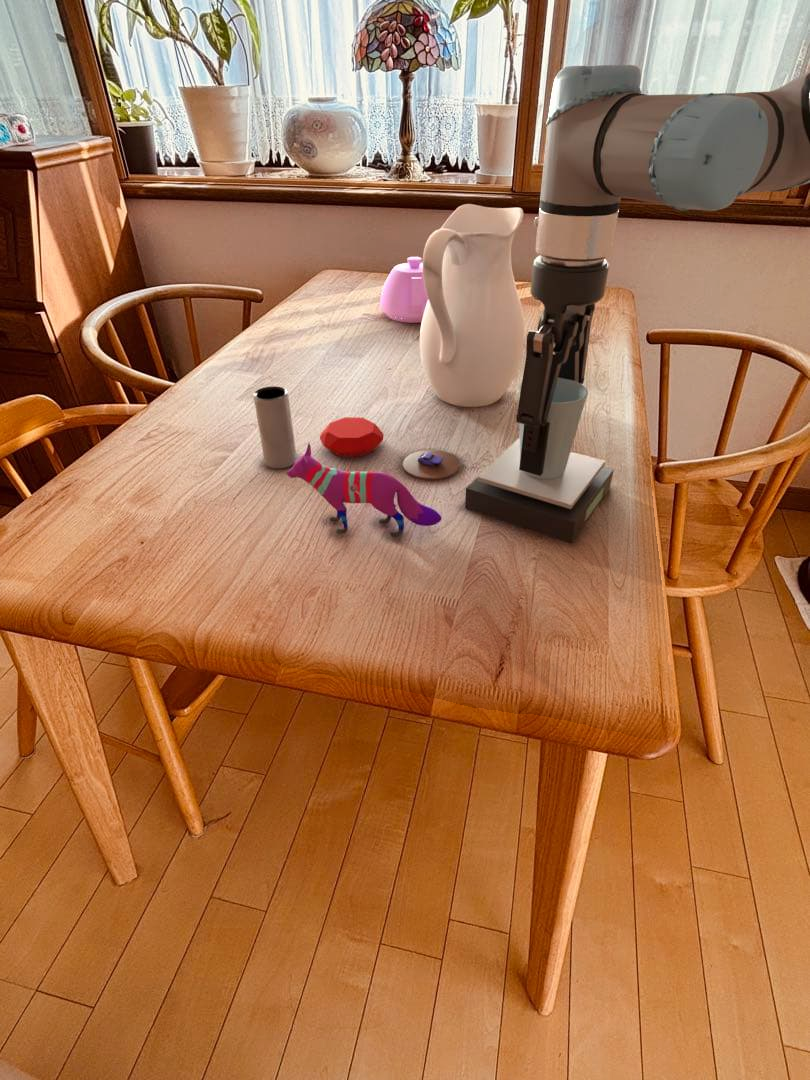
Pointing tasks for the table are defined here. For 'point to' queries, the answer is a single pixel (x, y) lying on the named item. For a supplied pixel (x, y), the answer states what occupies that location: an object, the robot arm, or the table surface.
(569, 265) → the robot arm
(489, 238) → the pitcher
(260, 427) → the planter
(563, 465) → the cup
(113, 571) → the table surface
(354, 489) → the fox figurine
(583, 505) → the scale
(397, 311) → the teapot
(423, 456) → the round wooden coaster
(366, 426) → the gemstone
